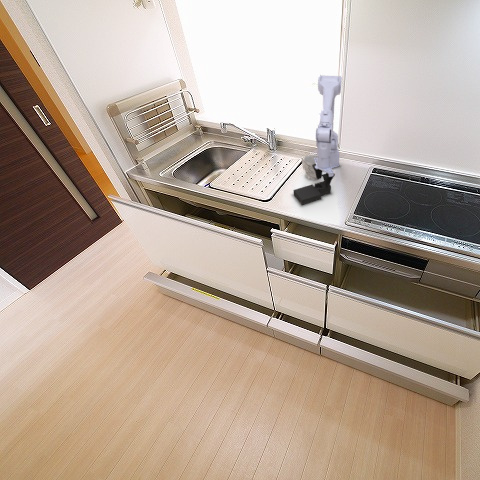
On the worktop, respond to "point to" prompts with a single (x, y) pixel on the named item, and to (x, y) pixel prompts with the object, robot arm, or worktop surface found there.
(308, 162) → the mug
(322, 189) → the pad
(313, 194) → the base pad
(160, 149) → the worktop surface
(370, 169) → the worktop surface
